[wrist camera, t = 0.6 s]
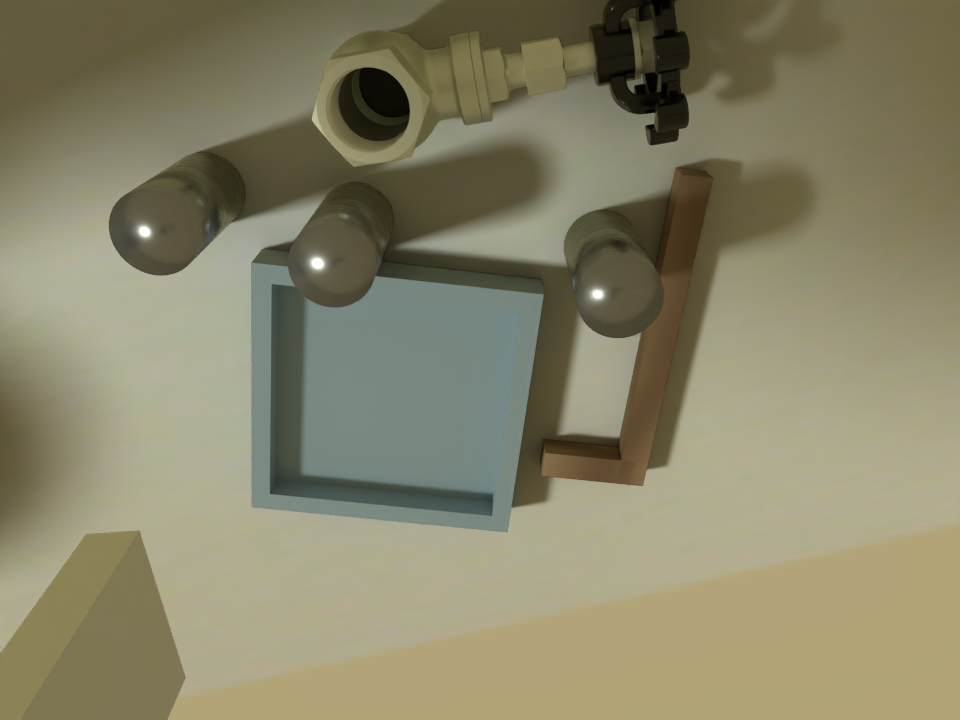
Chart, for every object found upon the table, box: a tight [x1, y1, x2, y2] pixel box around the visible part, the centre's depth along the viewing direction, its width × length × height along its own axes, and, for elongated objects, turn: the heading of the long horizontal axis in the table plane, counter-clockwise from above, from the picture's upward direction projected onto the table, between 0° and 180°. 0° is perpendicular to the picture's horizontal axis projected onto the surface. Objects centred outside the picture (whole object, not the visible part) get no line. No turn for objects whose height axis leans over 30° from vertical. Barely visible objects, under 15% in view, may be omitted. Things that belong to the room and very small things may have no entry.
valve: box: [312, 0, 690, 167], centre depth 29 cm, size 7×7×12 cm
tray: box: [251, 249, 544, 532], centre depth 37 cm, size 12×12×2 cm
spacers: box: [109, 152, 664, 338], centre depth 29 cm, size 20×16×6 cm
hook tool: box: [540, 168, 713, 486], centre depth 36 cm, size 5×14×1 cm, turn 174°
